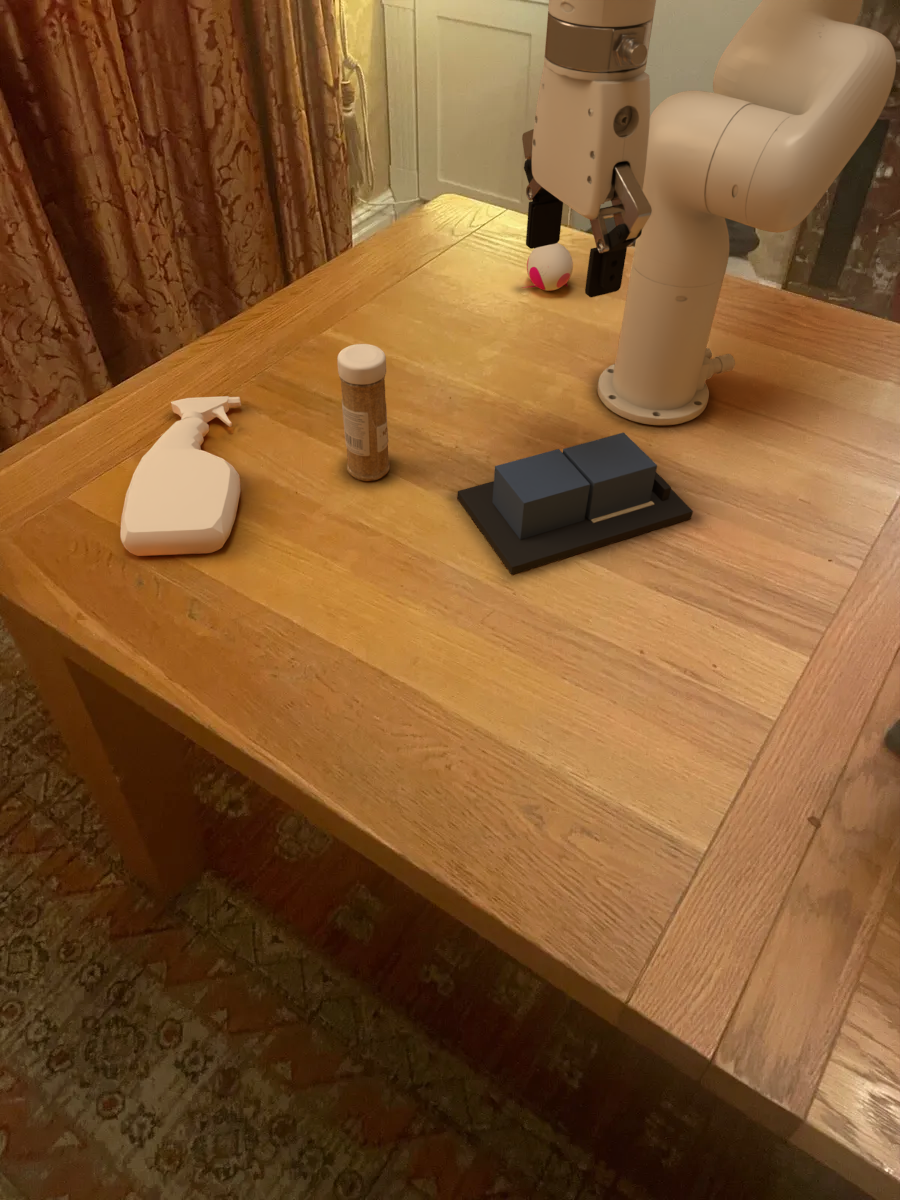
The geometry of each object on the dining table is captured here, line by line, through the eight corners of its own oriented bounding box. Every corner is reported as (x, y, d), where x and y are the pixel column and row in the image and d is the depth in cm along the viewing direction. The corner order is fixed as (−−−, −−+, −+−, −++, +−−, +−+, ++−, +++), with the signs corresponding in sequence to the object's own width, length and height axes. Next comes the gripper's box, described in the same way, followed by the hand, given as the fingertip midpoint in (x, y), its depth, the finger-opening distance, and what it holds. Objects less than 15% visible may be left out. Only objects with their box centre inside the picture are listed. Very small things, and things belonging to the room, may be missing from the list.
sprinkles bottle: (398, 473, 94) (394, 358, 84) (360, 488, 92) (351, 372, 82) (376, 450, 97) (370, 336, 87) (338, 464, 95) (328, 350, 85)
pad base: (626, 451, 97) (634, 408, 93) (691, 518, 90) (703, 474, 86) (457, 498, 91) (458, 454, 87) (511, 575, 84) (515, 530, 80)
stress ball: (525, 297, 127) (501, 261, 123) (573, 262, 125) (550, 224, 121) (540, 322, 122) (515, 285, 117) (591, 285, 120) (567, 247, 115)
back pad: (617, 468, 94) (624, 432, 90) (649, 502, 90) (657, 465, 86) (558, 485, 91) (562, 448, 88) (588, 520, 88) (594, 483, 84)
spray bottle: (116, 560, 84) (157, 412, 101) (235, 555, 85) (255, 409, 102) (108, 535, 82) (151, 389, 99) (230, 531, 83) (251, 386, 100)
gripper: (712, 71, 62) (666, 303, 74) (577, 8, 72) (556, 221, 85) (621, 85, 59) (588, 323, 72) (495, 18, 70) (485, 236, 82)
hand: (571, 267), depth 78 cm, fingers open, 9 cm apart
